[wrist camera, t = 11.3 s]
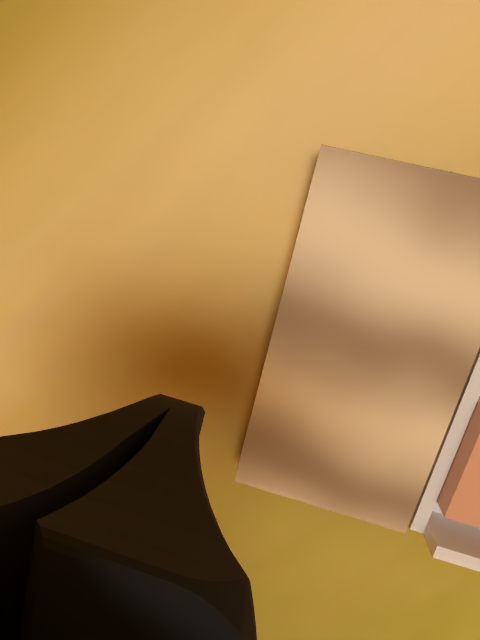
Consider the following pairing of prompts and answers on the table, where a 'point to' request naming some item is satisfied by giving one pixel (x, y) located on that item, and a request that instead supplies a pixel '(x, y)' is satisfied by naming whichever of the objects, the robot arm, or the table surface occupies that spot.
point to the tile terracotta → (464, 477)
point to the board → (368, 338)
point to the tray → (442, 533)
